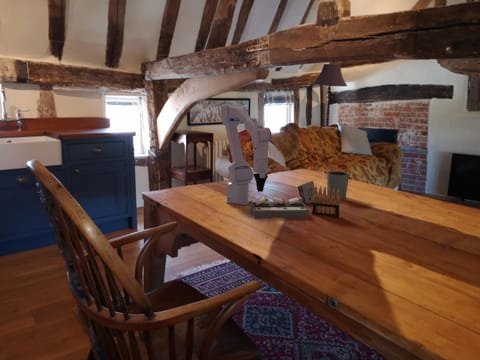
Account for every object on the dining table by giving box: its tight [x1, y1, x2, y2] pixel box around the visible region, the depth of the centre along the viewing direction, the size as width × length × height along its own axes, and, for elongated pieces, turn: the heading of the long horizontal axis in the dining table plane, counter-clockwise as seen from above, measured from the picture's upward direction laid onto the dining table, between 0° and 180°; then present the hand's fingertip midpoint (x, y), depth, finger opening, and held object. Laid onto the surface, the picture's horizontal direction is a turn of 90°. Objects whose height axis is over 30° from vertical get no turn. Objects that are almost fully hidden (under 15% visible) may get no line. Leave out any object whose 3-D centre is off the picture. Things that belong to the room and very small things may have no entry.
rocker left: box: [254, 196, 270, 205], centre depth 150 cm, size 5×3×2 cm, turn 92°
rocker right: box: [287, 196, 303, 204], centre depth 151 cm, size 5×3×2 cm, turn 93°
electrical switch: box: [297, 180, 316, 205], centre depth 166 cm, size 9×5×9 cm, turn 141°
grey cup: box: [326, 170, 350, 201], centre depth 172 cm, size 10×10×12 cm
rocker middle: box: [271, 196, 287, 204], centre depth 150 cm, size 5×3×2 cm, turn 96°
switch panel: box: [250, 201, 310, 219], centre depth 149 cm, size 22×12×4 cm, turn 94°
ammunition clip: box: [311, 185, 341, 219], centre depth 146 cm, size 11×2×12 cm, turn 70°
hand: (260, 191), depth 149 cm, fingers closed
